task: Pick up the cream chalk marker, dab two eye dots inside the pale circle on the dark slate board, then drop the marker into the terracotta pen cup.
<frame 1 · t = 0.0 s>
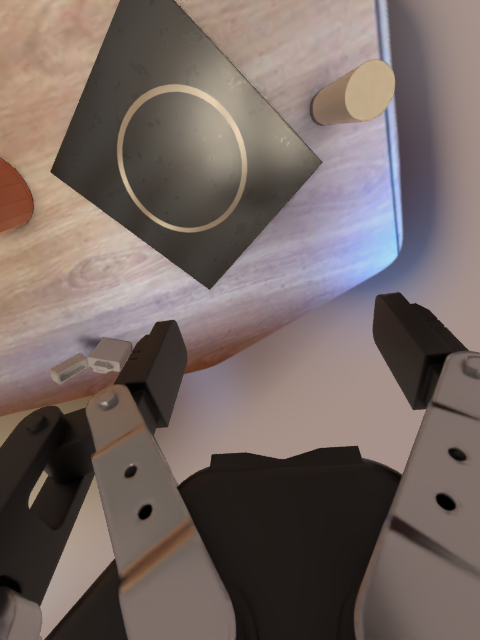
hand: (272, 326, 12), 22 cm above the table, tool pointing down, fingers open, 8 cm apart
chalkboard: (183, 166, 28), on the table
marker: (324, 107, 25), on the table
lighter: (107, 341, 41), on the table
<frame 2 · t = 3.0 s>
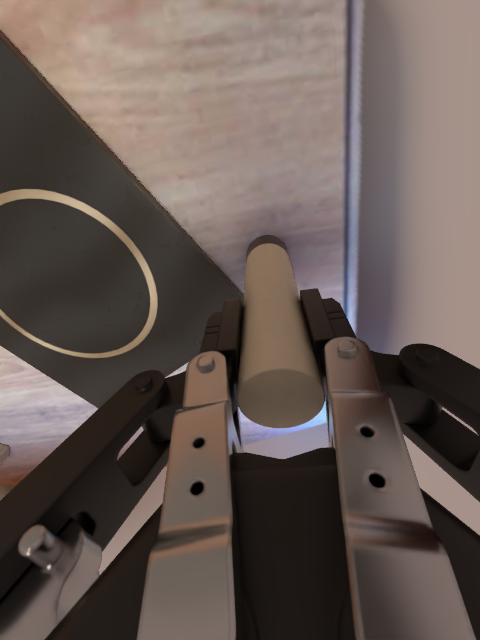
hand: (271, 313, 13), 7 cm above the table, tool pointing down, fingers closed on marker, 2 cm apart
chalkboard: (71, 284, 20), on the table
marker: (267, 255, 19), on the table, touching gripper
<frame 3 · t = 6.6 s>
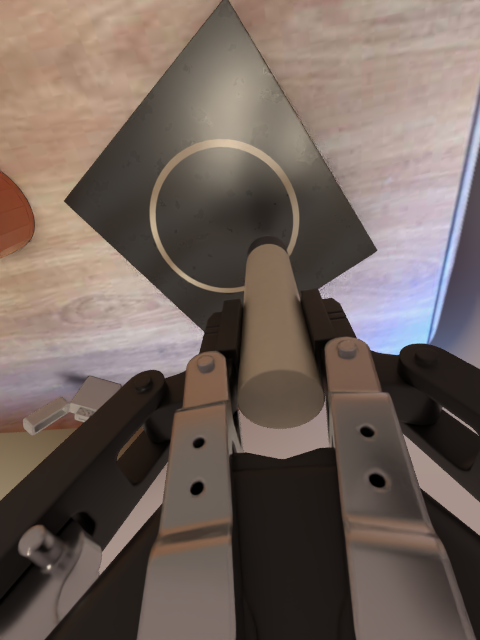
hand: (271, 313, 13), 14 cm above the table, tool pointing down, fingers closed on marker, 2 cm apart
chalkboard: (224, 224, 25), on the table
marker: (267, 255, 19), point 7 cm above the table, touching gripper
lighter: (93, 380, 37), on the table
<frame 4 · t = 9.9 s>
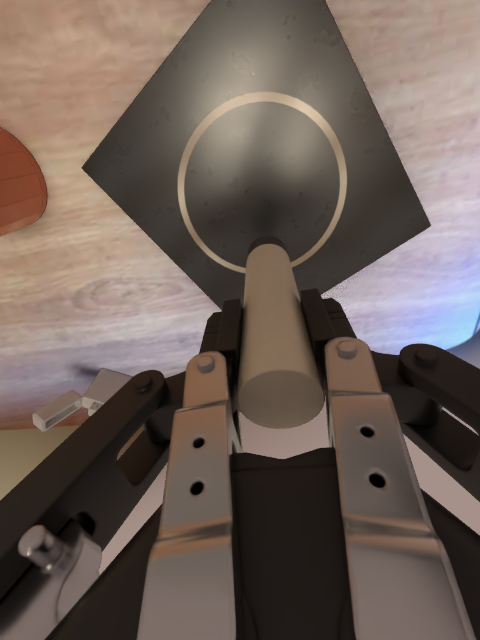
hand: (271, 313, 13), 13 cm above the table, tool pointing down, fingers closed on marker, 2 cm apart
chalkboard: (260, 196, 22), on the table
marker: (267, 255, 19), point 6 cm above the table, touching gripper
lighter: (106, 373, 34), on the table
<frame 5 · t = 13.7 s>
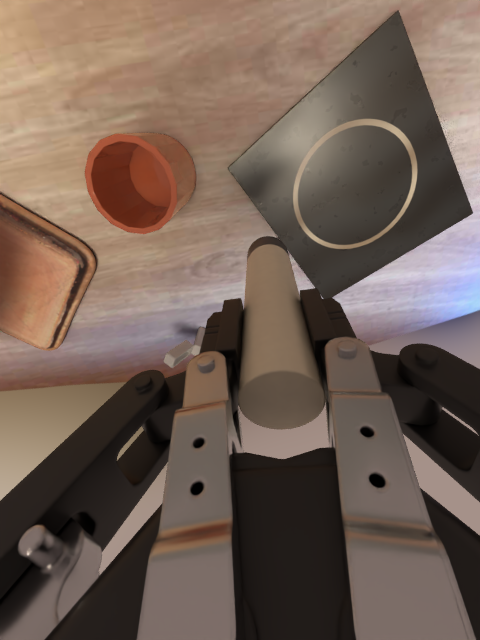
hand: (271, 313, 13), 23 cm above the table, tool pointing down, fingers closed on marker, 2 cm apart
chalkboard: (351, 190, 31), on the table
marker: (267, 256, 19), point 16 cm above the table, touching gripper
lighter: (201, 331, 43), on the table
pen cup: (161, 174, 31), on the table
case: (3, 266, 38), on the table
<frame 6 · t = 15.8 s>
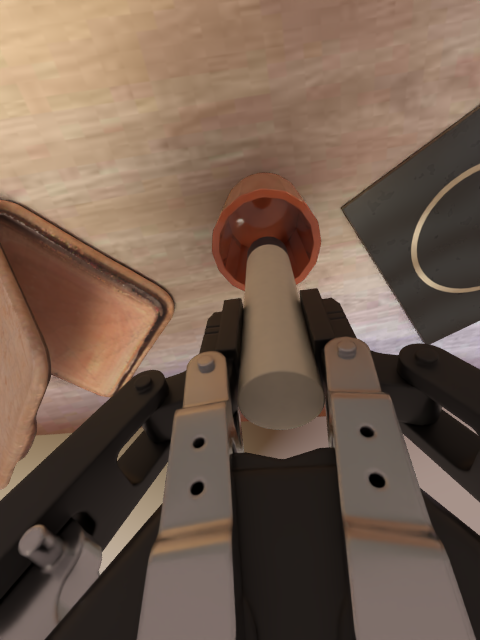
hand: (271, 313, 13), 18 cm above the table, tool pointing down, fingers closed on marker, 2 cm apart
chalkboard: (479, 230, 27), on the table
marker: (267, 256, 19), point 11 cm above the table, touching gripper
pen cup: (262, 215, 27), on the table
case: (69, 311, 35), on the table
when the fingers open (14 cm above the table, at t = 17.1 s): marker drops 6 cm, resting on pen cup.
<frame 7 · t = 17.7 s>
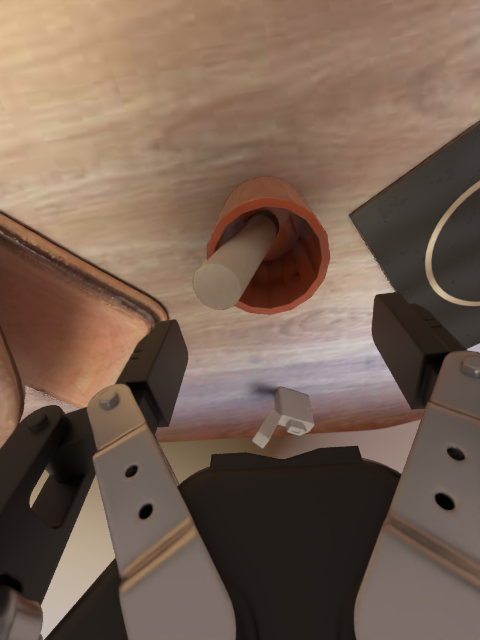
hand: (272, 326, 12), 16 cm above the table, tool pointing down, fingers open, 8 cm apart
marker: (264, 226, 24), point 1 cm above the table, tilted 13°, touching pen cup
lighter: (280, 391, 36), on the table
pen cup: (263, 223, 25), on the table
case: (55, 324, 32), on the table
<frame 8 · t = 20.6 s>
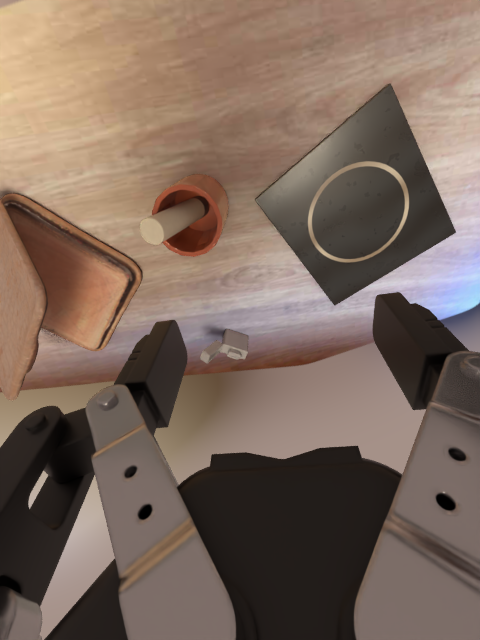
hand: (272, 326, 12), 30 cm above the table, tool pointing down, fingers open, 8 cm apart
chalkboard: (355, 215, 38), on the table
marker: (199, 206, 37), point 1 cm above the table, tilted 13°, touching pen cup
lighter: (227, 332, 49), on the table
pen cup: (200, 204, 38), on the table
case: (62, 280, 45), on the table
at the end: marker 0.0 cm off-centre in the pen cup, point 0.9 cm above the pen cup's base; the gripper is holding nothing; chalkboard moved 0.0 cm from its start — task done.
